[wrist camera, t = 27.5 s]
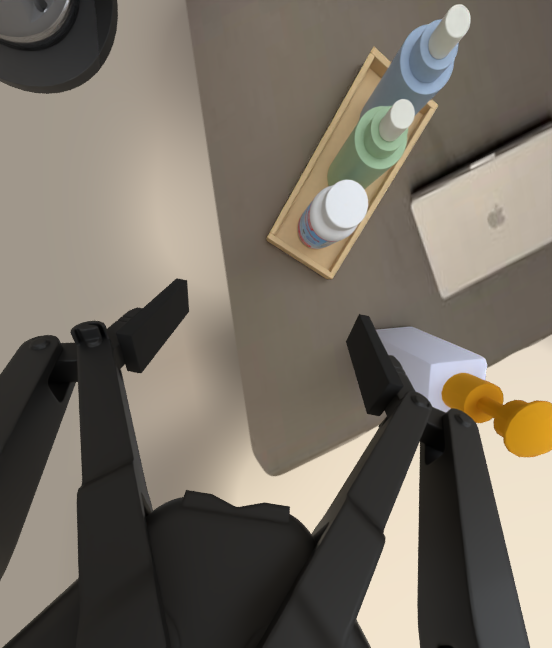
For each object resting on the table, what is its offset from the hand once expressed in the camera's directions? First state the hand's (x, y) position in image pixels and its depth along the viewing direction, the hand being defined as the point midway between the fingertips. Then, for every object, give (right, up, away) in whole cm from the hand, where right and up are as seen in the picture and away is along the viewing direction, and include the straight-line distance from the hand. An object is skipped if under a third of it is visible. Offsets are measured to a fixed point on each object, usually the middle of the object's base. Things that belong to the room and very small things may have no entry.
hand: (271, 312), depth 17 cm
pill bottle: (+7, +14, +17) cm, 22 cm away
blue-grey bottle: (+15, +28, +15) cm, 35 cm away
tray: (+11, +21, +16) cm, 29 cm away
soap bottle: (+22, -6, +23) cm, 33 cm away
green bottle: (+11, +21, +16) cm, 28 cm away
